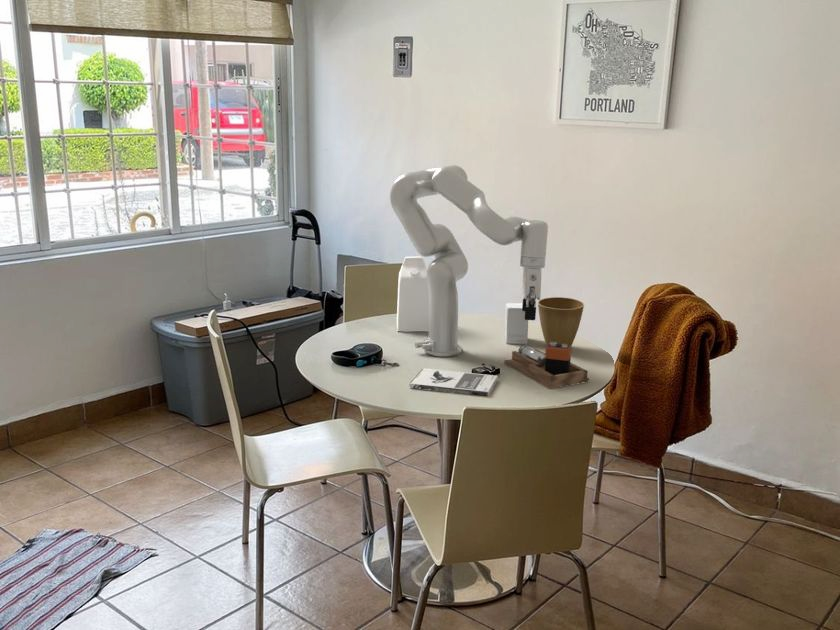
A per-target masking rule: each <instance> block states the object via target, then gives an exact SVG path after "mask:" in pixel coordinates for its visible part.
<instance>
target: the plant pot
mask: <svg viewBox="0 0 840 630" xmlns="http://www.w3.org/2000/svg"><path fill="white" fill-rule="evenodd" d="M537 305H538V306H537V308H538V314H539V321H540V322H539V323H540V328H541V332H542V335H543V339H544V342H545V345H546V347H547V346H548V344H550V342H556V343H557V344H560V345H562V344H567V345H569V346H571V347H572V345H573V343H574V341H575V339H576V336H577V334H578V330H579V328H580V323H581V320H582V317H583V312H584V308H585V304H584V302H583V301H581V300H579V299H575V298H571V297H563V296H562V297H561V296H560V297H559V296H557V297H555V296H554V297H553V296H552V297H546V298H540V300H538V301H537Z"/></svg>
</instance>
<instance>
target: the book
mask: <svg viewBox="0 0 840 630" xmlns="http://www.w3.org/2000/svg"><path fill="white" fill-rule="evenodd" d="M497 382H498V375H493V374H485V373H484V374H482V373H474V372H473V373H472V372H465V371H464V372H463V371H455V370H453V371H452V370H445V369H437V368H436V369H434V368H423V367H422V369H421V370H420V371H419V372H418V373H417V374H416V376H415V377H413V379H412V380H411V381H410V382H409V384H408V385H409V387H412V388H411V389H413V388H420V389H419V390H422V389H431V390H430V391H432V390H438V391H437V392H441V391H446V392H445V393H450V392H454V393H453V394H460V393H462V395H470V396H478V397H479V396H481V397H488V396H489V395H490V393H491V392H492V390H493V389H494V387H495V386H496V383H497Z"/></svg>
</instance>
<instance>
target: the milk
mask: <svg viewBox="0 0 840 630" xmlns="http://www.w3.org/2000/svg"><path fill="white" fill-rule="evenodd" d="M427 269H428V268H427V267H426V263H425V261H424V259H423V256H405V257H404V260H403V262H402V265H401V267H400V269H399V271H398V280H397V281H398V283H397V303H396V307H397V309H396V328H397V329H398V330H397V329H396V330H397V332H398V331H427V332H429V290H428V283H427Z"/></svg>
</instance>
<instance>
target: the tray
mask: <svg viewBox="0 0 840 630" xmlns="http://www.w3.org/2000/svg"><path fill="white" fill-rule="evenodd" d="M532 348H533V349H534V350H536V351H538V352H540V353H542V354H544V355H546V352H544V351H542V350H539V349H537V348H536V347H532ZM511 353H512V354H511V358H509V359H504V360H503V362H504V363H503V364H505V365H506V366H509V367H510V368H512V369H513V370H515V371H517V372H519V373H520V374H522V375H524V376H526V377H527V378H530V379H531V380H533V381H535V382H537V383H538V384H540V385H542V386H543V387H545V388H547V389H549V390H551V389H556V387H557V388H561V387H560V386H563V387H567V386H566V385H568V386H573V385H572V384H574V385H577V383H579V384H583V383H582V382H585V383H589V382H590V377H588V373H589V371H588V370H586V369H585V368H582V366H579V365H577V364H575V363H572V362H571V361H570V373H564V374H558V375H552V374H550V373H548V372H547V371H545V364H544V365H543V366H540V364H539V363H537V362H535V361H533V360H531V359H530V358H528V357H526V356H524V355H522V354H520V353H518V351H516V350H514V351H511ZM588 381H589V382H588Z"/></svg>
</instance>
